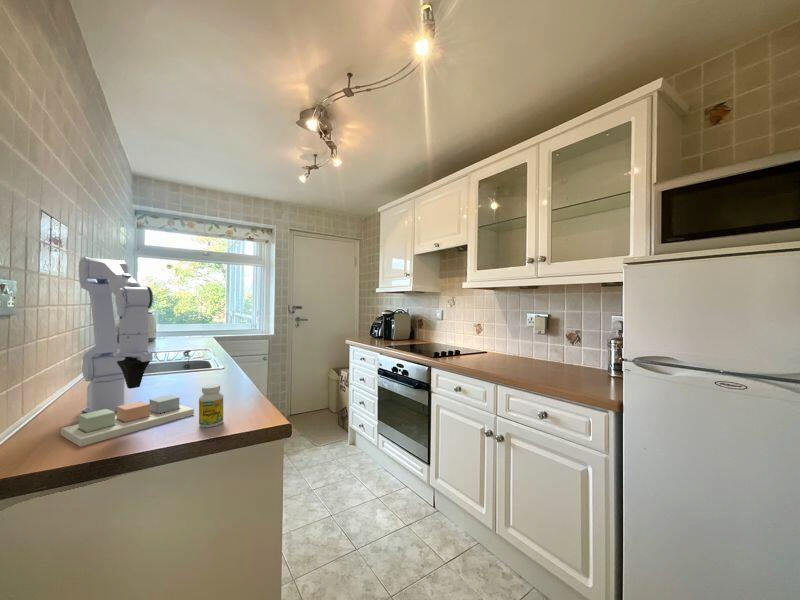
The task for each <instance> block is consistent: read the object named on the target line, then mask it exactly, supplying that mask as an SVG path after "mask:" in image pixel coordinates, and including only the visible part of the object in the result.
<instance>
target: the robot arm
mask: <svg viewBox="0 0 800 600" xmlns="http://www.w3.org/2000/svg"><path fill="white" fill-rule="evenodd" d="M128 272H129V271H128V264H127V263H126V261H125V260H123V259H119V260H118V259H107V258H106V259H105V258H94V257H87V256H83V257H82V258H80V260H79V262H78V278H79V279H78V281H79V285H80V288H81V289H83V290H86V291H87V292H88V295H89V297H90V307H91V314H92V316H91V317H92V326H93V336H94V345H95V346H93V347H91V349H88V350H87V351H85V353H84V354H83V357H82V366H81V367H82V368H81V369H82V370H81V371H82V376H83V378H84V380H86V381H89V383H88V385H87V388H86V408H85V407H83V408H82V409H81V410H82V411H83V412H85V413H89V412H94V411H99V410H103V409H108V410H111V411H113V412H115V413H116V412H117V406H121V405H126V404H125V384H126V388H127V389H129V390H130V389H134V388H140V387H141V384H142V380H143V376H144V374H145V371H146V369H147V367H148V366H149V364H150V362H151V361H153V353H152V352H150V350H149V317H150V316H149V312H150V311H149V309H151V308H152V306H153V303H154V294H153V290H152V288H151V287H150V286H141V284H140V283H139V282H138V281H137V280H136V279H135V278H134V276H132V275H131V274H130V273H128ZM113 294H114V295H115V298H114V299H115V300H114V301H115V306H116V314H117V316H118V318H119V320H118V321H119V324H118V325H119V327H118V329H119V335H118V337H117V329H116V321H115V312H114V302H113ZM117 338H118V339H117ZM118 340H119V341H118Z"/></svg>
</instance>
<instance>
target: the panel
mask: <svg viewBox="0 0 800 600" xmlns="http://www.w3.org/2000/svg"><path fill="white" fill-rule="evenodd" d="M193 414H194V415H195V408H192V407H189V406H186V405H182V404H180V403H179V409H175V410H171V411H169V412H165V413H164V412H163V413H161V414H160V413H159V414H158V413H155V412H152V411H150V416H148V417H144V418H140V419H136V420H132V421H128V422H124V421H121V420H119V419H117V414H115V425H113V426H109V427H105V428H101V429H97V430H93V431H89V432H86V431H84V430H82V429H80V428H79V423H78V424H74V425H69V426H65V427H61V428H60V430H61V431H60V432H61V436H62V437H64V438H65V439H66V440H68V441H70V442H72V443H74V444H75V445H77V446H79V447H80V448H81V447H84V446H88V445H91V444H95V443H98V442H102V441H105V440H109V439H112V438H116V437H120V436H123V435H127V434H131V433H135V432H138V431H140V430H144V429H147V428H151V427H155V426H158V425H162V424H166V423H168V421H170V422H172V420H173V421H175V419H177V420H180V419H182V417H184V418H187V417H190V416H189V415H191V416H194V415H193ZM186 416H187V417H186ZM179 418H180V419H179ZM165 422H166V423H165Z"/></svg>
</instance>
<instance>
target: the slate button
mask: <svg viewBox="0 0 800 600" xmlns="http://www.w3.org/2000/svg"><path fill="white" fill-rule="evenodd" d="M149 404H150V411H152V412H155V413H158V414H159V413H161V414H162V413H163V412H165V413H166V412H167V411H169V412H170V411H171V410H175V409H179V404H180V397H179V396H177V395H172V394H167V395H164V396H158V397H153V398H150V399H149ZM158 414H157V415H158Z"/></svg>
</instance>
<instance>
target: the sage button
mask: <svg viewBox="0 0 800 600" xmlns="http://www.w3.org/2000/svg"><path fill="white" fill-rule="evenodd" d="M115 415H116V411H115V412H113V411H111V410H108V409H103V410H99V411H94V412H89V413H87V412H85V413H81V414H78V424H79V428H80V429H82V430H84V431H86V432H87V433H89V431H91V432H93V430H95V431H96V430H97V429H99V430H100V429H101V428H103V429H104V428H105V427H107V428H108V427H109V426H113V425H115Z"/></svg>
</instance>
